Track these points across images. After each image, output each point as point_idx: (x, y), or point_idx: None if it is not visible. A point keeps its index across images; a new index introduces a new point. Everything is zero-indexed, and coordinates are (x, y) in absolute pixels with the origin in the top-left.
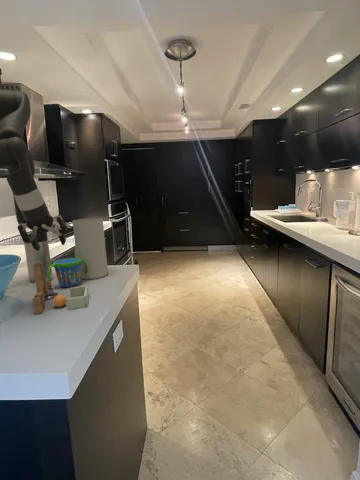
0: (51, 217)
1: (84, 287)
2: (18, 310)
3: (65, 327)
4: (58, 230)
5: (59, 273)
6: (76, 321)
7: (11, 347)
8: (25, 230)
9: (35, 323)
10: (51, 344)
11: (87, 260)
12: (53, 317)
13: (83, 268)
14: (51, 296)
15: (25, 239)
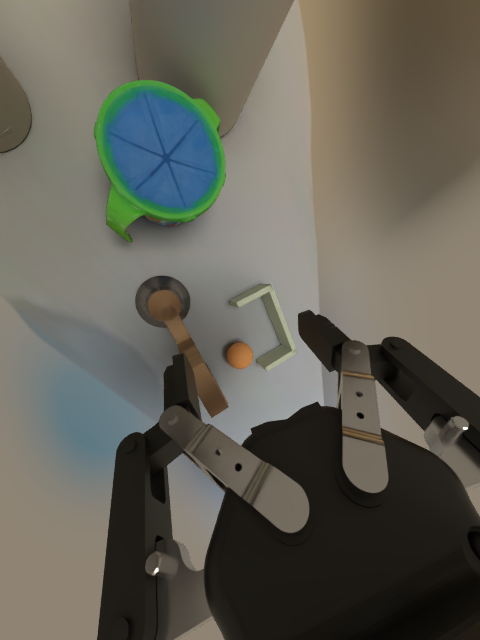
0: (457, 496)
1: (266, 292)
2: (153, 385)
3: (286, 417)
4: (351, 366)
5: (157, 219)
6: (292, 398)
7: None
8: (149, 515)
9: (234, 420)
10: None
11: (219, 91)
12: (250, 395)
13: None
14: (182, 308)
15: (161, 470)
